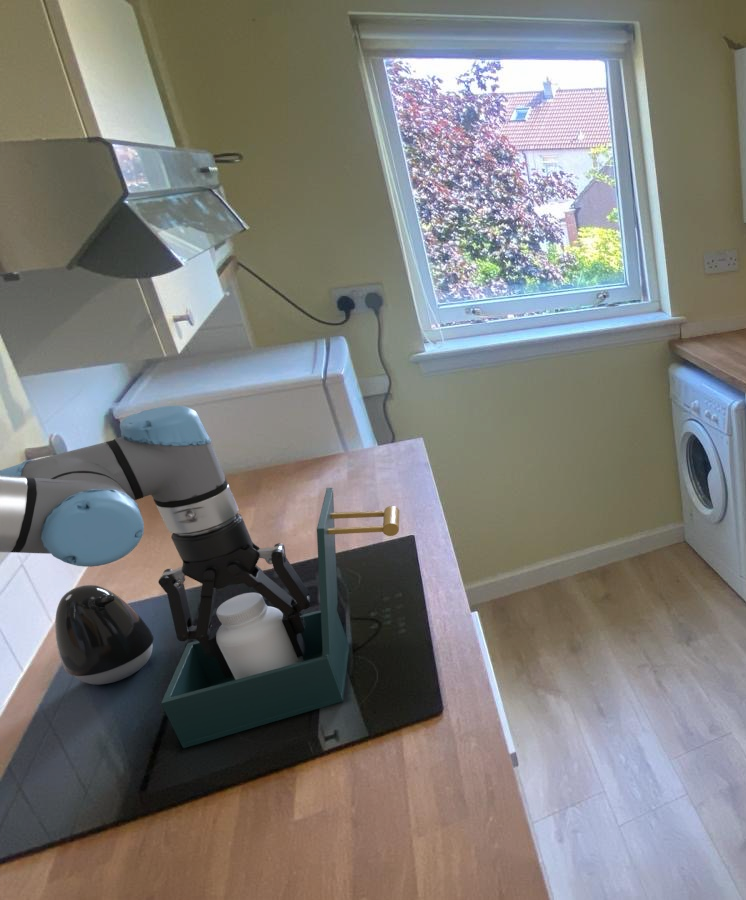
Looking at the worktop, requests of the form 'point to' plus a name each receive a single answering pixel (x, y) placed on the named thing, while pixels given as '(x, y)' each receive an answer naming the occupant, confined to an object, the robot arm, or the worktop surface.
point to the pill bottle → (253, 636)
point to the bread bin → (254, 688)
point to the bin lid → (328, 555)
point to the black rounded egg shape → (100, 636)
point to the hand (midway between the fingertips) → (266, 660)
